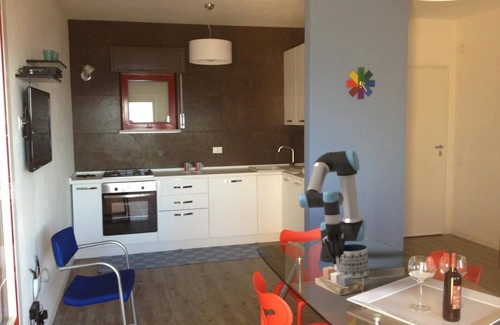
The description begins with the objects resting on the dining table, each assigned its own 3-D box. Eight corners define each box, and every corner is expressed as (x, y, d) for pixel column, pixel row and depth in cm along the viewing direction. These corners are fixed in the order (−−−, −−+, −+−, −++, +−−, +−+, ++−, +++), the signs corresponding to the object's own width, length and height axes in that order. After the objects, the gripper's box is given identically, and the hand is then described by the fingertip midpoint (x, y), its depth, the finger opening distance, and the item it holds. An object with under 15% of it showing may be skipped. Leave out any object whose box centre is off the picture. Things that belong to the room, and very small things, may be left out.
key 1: (331, 275, 241) (330, 266, 241) (337, 277, 236) (336, 268, 236) (323, 277, 239) (322, 267, 239) (328, 279, 234) (327, 270, 234)
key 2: (347, 284, 228) (347, 274, 228) (354, 286, 223) (353, 276, 223) (339, 286, 226) (338, 276, 226) (345, 289, 222) (344, 278, 221)
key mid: (339, 280, 235) (338, 271, 234) (345, 283, 230) (344, 273, 230) (331, 283, 233) (330, 273, 232) (336, 285, 228) (335, 275, 228)
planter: (336, 278, 244) (333, 251, 244) (341, 270, 259) (338, 244, 259) (367, 279, 239) (365, 251, 238) (370, 270, 254) (368, 243, 253)
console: (337, 278, 244) (336, 273, 244) (363, 289, 224) (362, 283, 224) (315, 284, 239) (315, 278, 239) (340, 295, 219) (339, 289, 219)
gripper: (339, 219, 236) (344, 265, 237) (317, 223, 231) (321, 271, 232) (348, 221, 229) (352, 269, 230) (325, 225, 224) (330, 274, 225)
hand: (337, 270), depth 231 cm, fingers closed
